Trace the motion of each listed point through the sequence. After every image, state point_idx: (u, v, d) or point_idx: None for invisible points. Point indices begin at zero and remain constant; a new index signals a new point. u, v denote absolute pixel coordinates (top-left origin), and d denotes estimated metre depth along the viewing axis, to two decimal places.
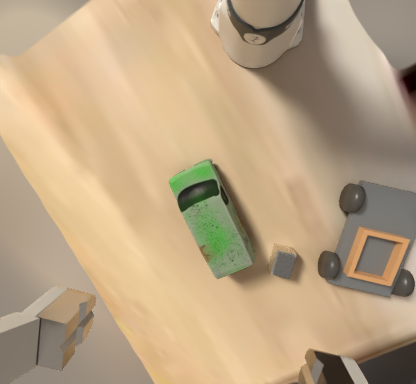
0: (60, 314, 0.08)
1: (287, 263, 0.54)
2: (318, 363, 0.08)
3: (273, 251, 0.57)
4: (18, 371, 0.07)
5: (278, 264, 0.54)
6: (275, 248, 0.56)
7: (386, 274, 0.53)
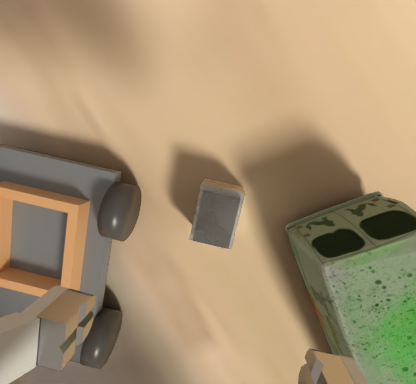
0: (60, 314, 0.08)
1: (210, 227, 0.23)
2: (318, 363, 0.08)
3: None
4: (18, 371, 0.07)
5: (230, 225, 0.23)
6: None
7: (5, 203, 0.25)
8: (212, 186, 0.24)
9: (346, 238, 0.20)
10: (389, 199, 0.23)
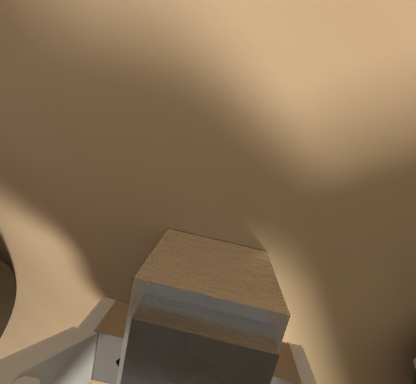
0: (116, 328, 0.07)
1: None
2: None
3: None
4: None
5: None
6: None
7: None
8: (173, 288, 0.07)
9: None
10: None
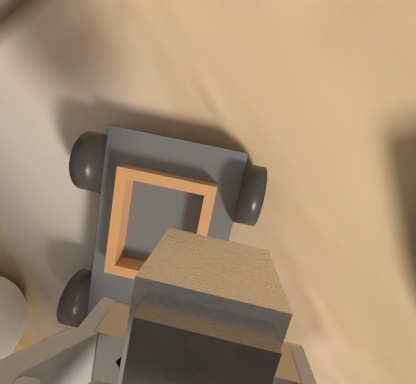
0: (116, 328, 0.07)
1: None
2: None
3: None
4: None
5: None
6: None
7: (129, 187, 0.24)
8: (175, 287, 0.07)
9: None
10: None
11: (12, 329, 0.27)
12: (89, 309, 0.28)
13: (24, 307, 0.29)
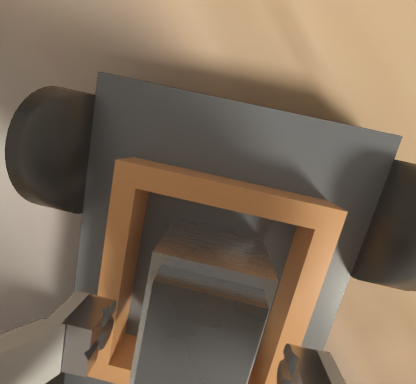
0: (85, 320, 0.08)
1: (177, 383, 0.08)
2: (294, 357, 0.08)
3: None
4: (44, 378, 0.07)
5: (236, 379, 0.08)
6: None
7: (141, 205, 0.11)
8: (184, 261, 0.08)
9: None
10: None
11: None
12: None
13: None
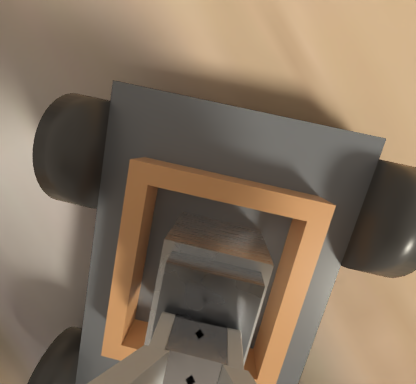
0: (185, 345, 0.07)
1: None
2: (201, 334, 0.08)
3: None
4: None
5: None
6: None
7: (151, 200, 0.12)
8: (192, 247, 0.10)
9: None
10: None
11: None
12: None
13: None
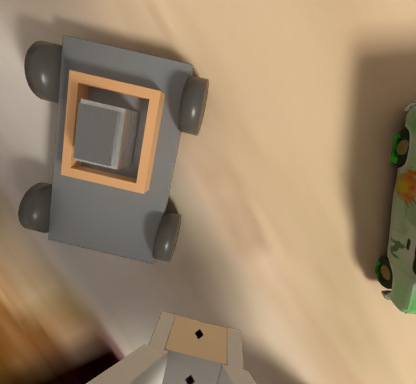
0: (184, 345, 0.07)
1: (89, 143, 0.23)
2: (201, 334, 0.08)
3: (129, 153, 0.27)
4: None
5: (109, 140, 0.23)
6: (125, 162, 0.26)
7: (83, 94, 0.26)
8: (92, 102, 0.23)
9: None
10: None
11: None
12: (51, 218, 0.30)
13: None
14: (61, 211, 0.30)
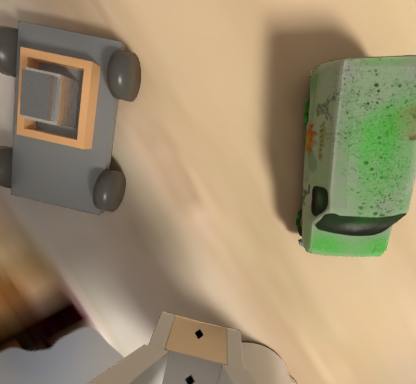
0: (184, 345, 0.07)
1: (31, 102, 0.29)
2: (201, 334, 0.08)
3: (72, 115, 0.32)
4: None
5: (46, 99, 0.28)
6: (67, 122, 0.32)
7: (33, 67, 0.32)
8: (35, 69, 0.29)
9: None
10: None
11: None
12: (12, 175, 0.36)
13: None
14: (21, 169, 0.36)
